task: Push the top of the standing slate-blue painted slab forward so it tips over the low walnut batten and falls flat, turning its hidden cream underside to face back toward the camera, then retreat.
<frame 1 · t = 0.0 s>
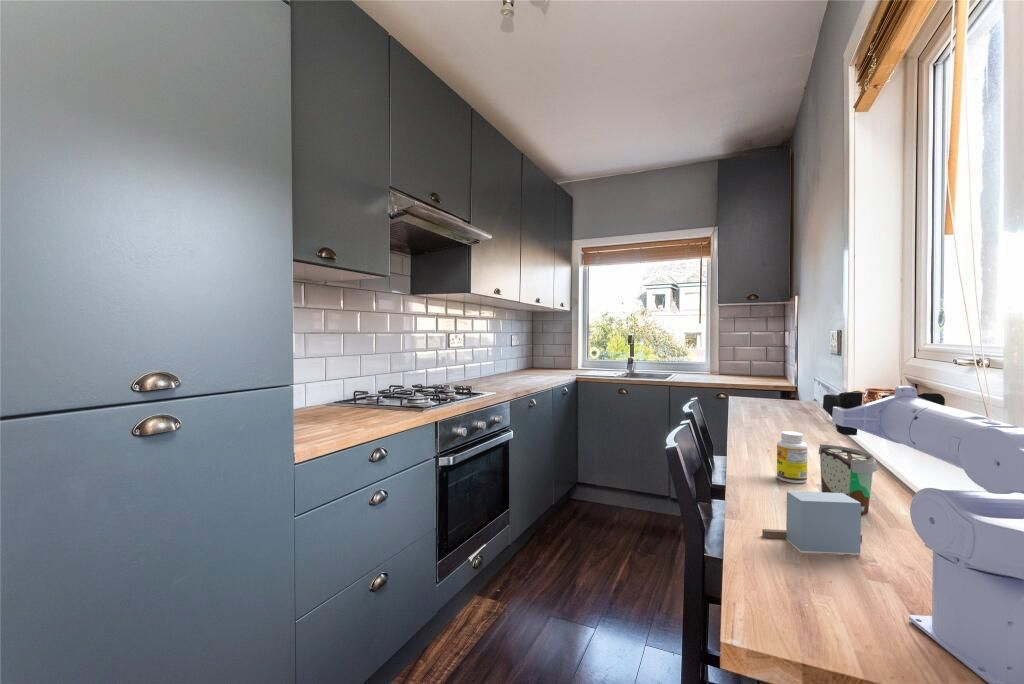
hand: (854, 402, 63), 22 cm above the table, tool horizontal, fingers open, 7 cm apart
supplement bottle: (791, 481, 96), on the table
food container: (852, 508, 81), on the table
batten: (811, 538, 68), on the table
block: (822, 547, 65), on the table
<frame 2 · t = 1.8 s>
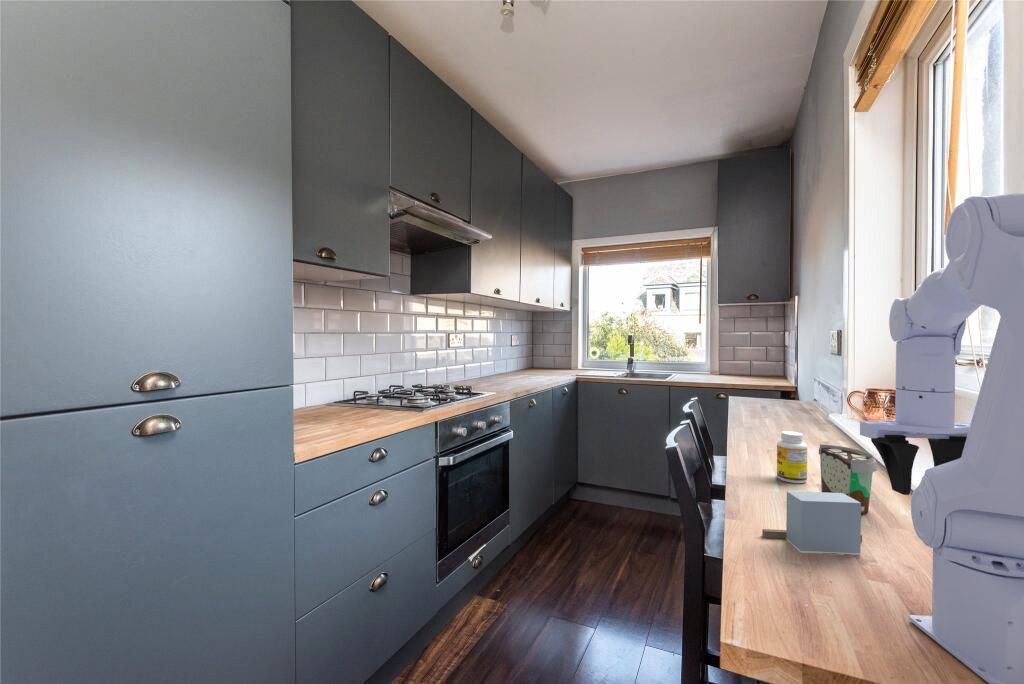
hand: (922, 493, 58), 10 cm above the table, tool pointing down, fingers open, 5 cm apart
nothing on the table moved.
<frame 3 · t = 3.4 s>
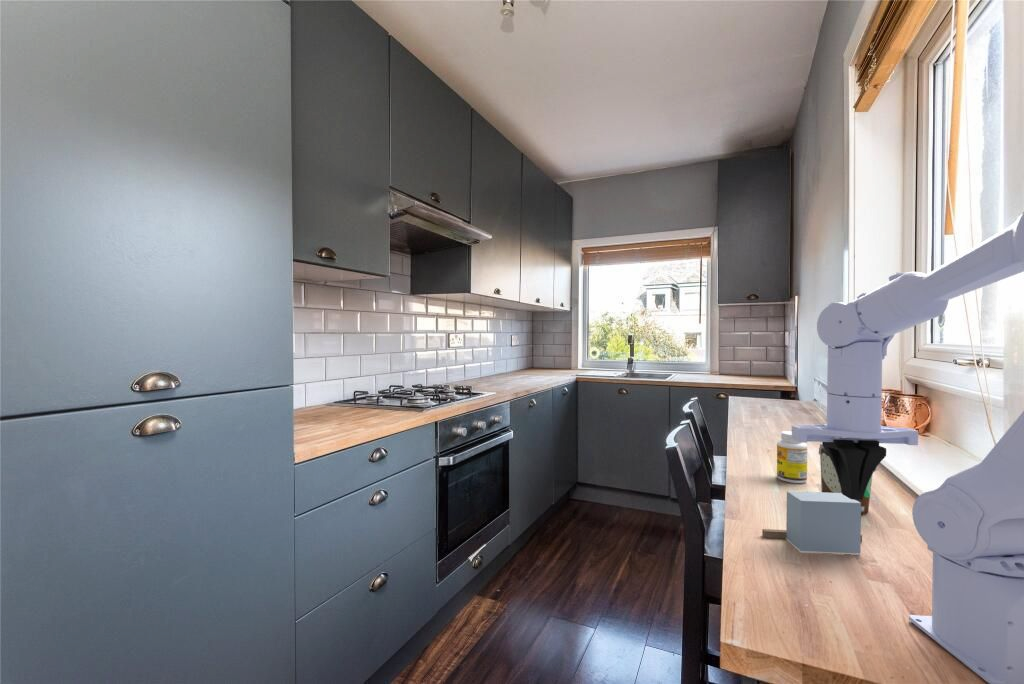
hand: (852, 497, 59), 10 cm above the table, tool pointing down, fingers closed
nothing on the table moved.
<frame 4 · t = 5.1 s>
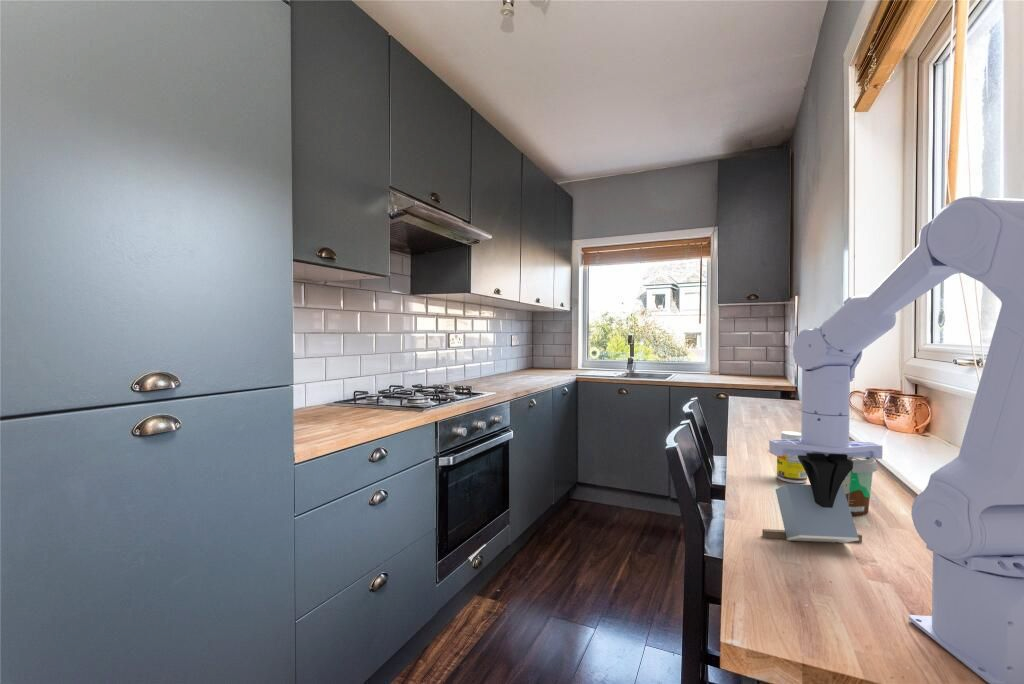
hand: (823, 505, 65), 6 cm above the table, tool pointing down, fingers closed
block: (822, 540, 65), point 1 cm above the table, tilted 30°, touching batten
everything else where it was.
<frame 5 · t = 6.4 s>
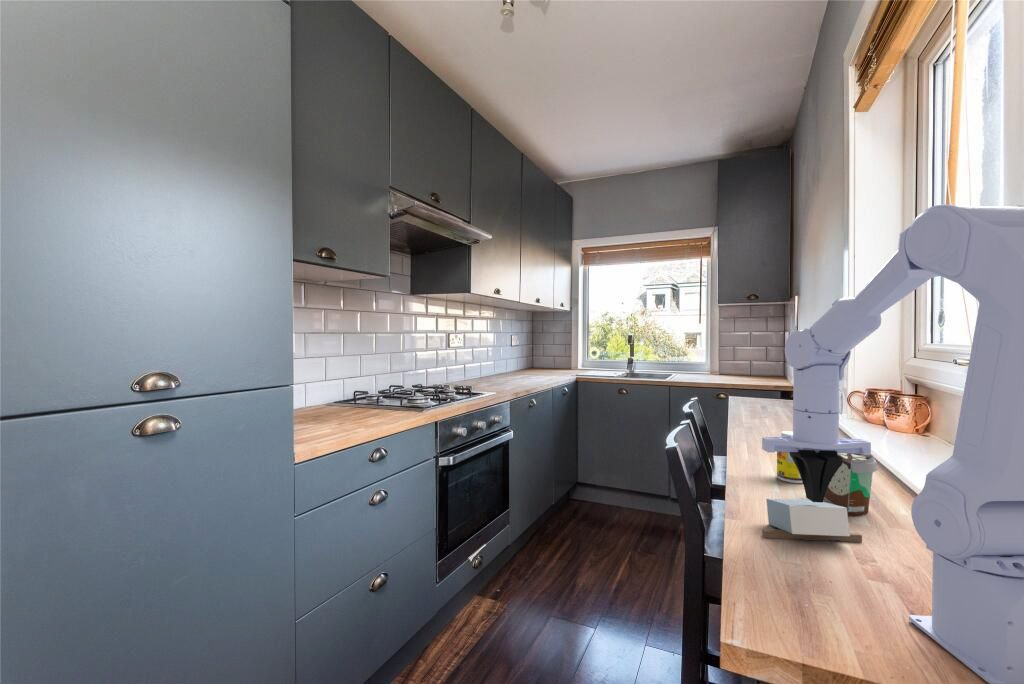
hand: (814, 500, 67), 6 cm above the table, tool pointing down, fingers closed
block: (819, 520, 66), point 4 cm above the table, tilted 102°, touching batten
everything else where it was.
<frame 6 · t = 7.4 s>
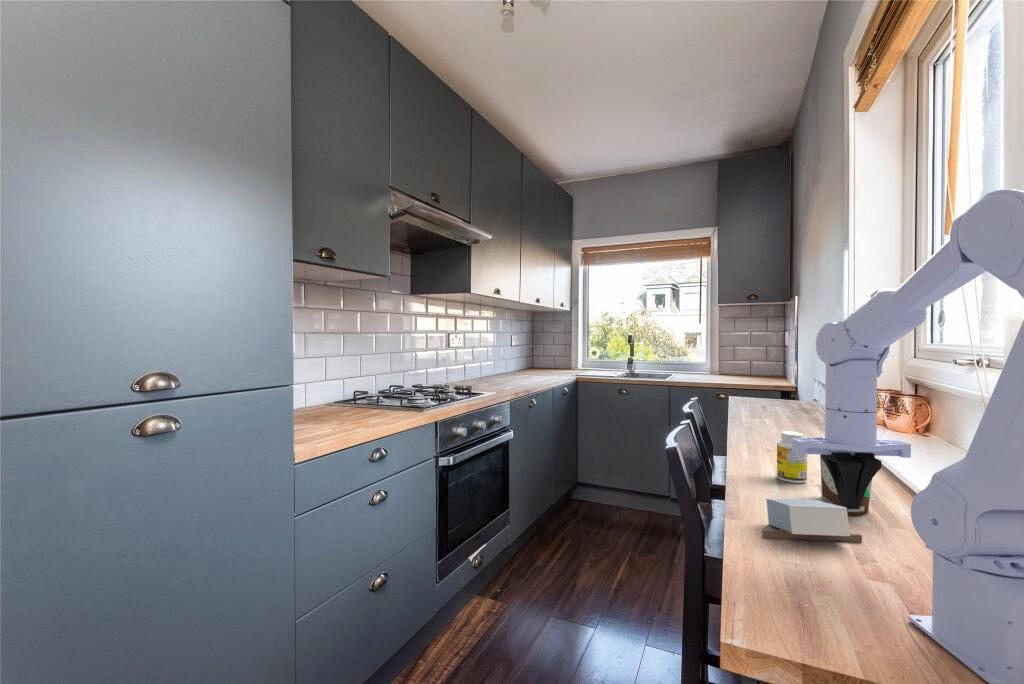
hand: (849, 506, 62), 7 cm above the table, tool pointing down, fingers closed
nothing on the table moved.
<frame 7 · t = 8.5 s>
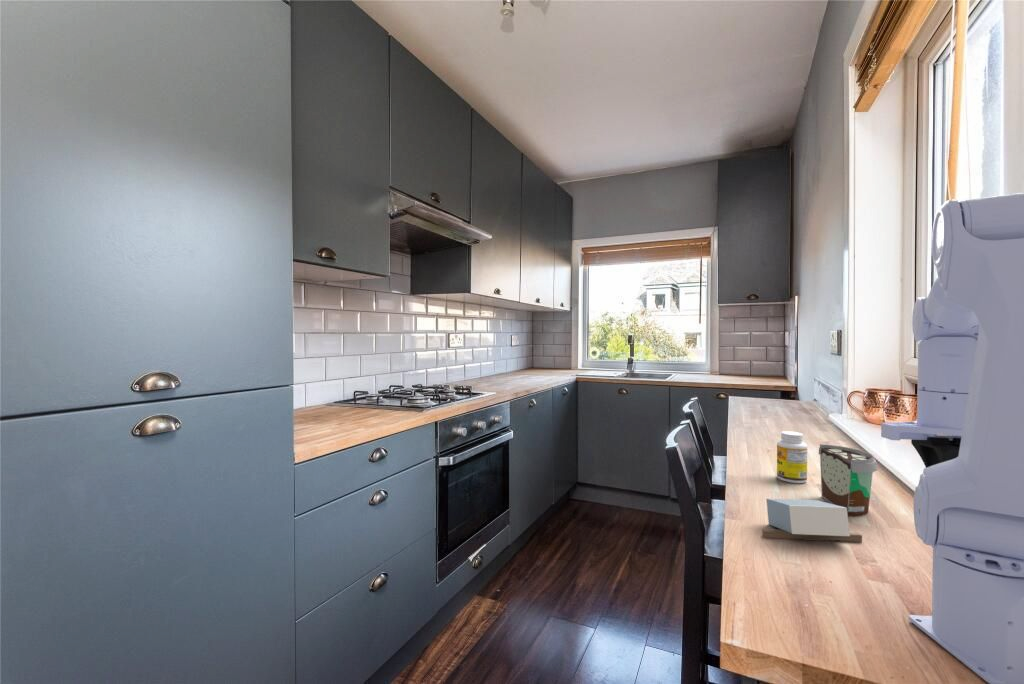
hand: (946, 496, 57), 10 cm above the table, tool pointing down, fingers closed
nothing on the table moved.
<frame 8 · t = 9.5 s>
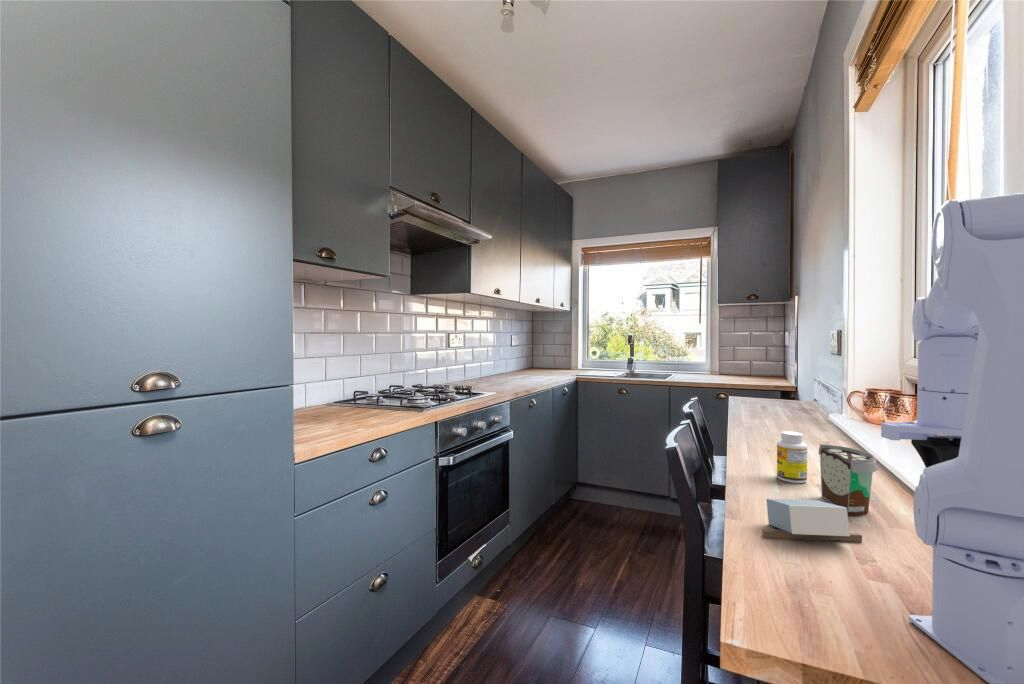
hand: (946, 496, 57), 10 cm above the table, tool pointing down, fingers closed
nothing on the table moved.
at the end: block tilted 102°; block inside the target area (4.6 cm from its centre), point 3.6 cm above the table; block moved 3.6 cm from its start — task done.
